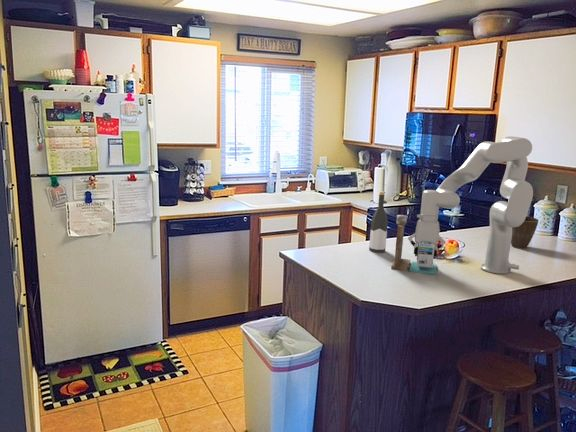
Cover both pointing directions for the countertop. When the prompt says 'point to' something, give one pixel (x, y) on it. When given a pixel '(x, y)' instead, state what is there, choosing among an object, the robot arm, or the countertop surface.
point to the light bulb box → (425, 254)
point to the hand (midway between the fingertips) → (424, 256)
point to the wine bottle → (379, 227)
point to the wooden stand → (400, 245)
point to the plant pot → (524, 233)
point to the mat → (423, 269)
